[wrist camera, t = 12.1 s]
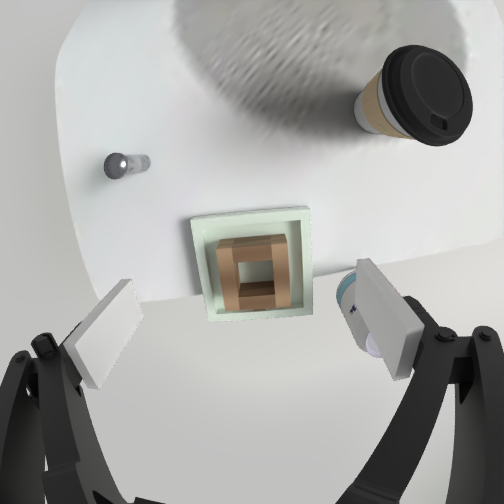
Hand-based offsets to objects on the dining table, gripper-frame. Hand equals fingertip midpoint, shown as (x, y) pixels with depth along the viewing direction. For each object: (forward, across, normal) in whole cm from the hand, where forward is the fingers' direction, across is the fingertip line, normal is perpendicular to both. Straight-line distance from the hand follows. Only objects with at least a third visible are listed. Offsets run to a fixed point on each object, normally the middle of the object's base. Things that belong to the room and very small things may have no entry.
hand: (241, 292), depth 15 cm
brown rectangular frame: (+19, 0, -7) cm, 21 cm away
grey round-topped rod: (+20, -13, +8) cm, 26 cm away
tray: (+20, 0, -7) cm, 21 cm away
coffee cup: (+21, +17, +12) cm, 29 cm away
